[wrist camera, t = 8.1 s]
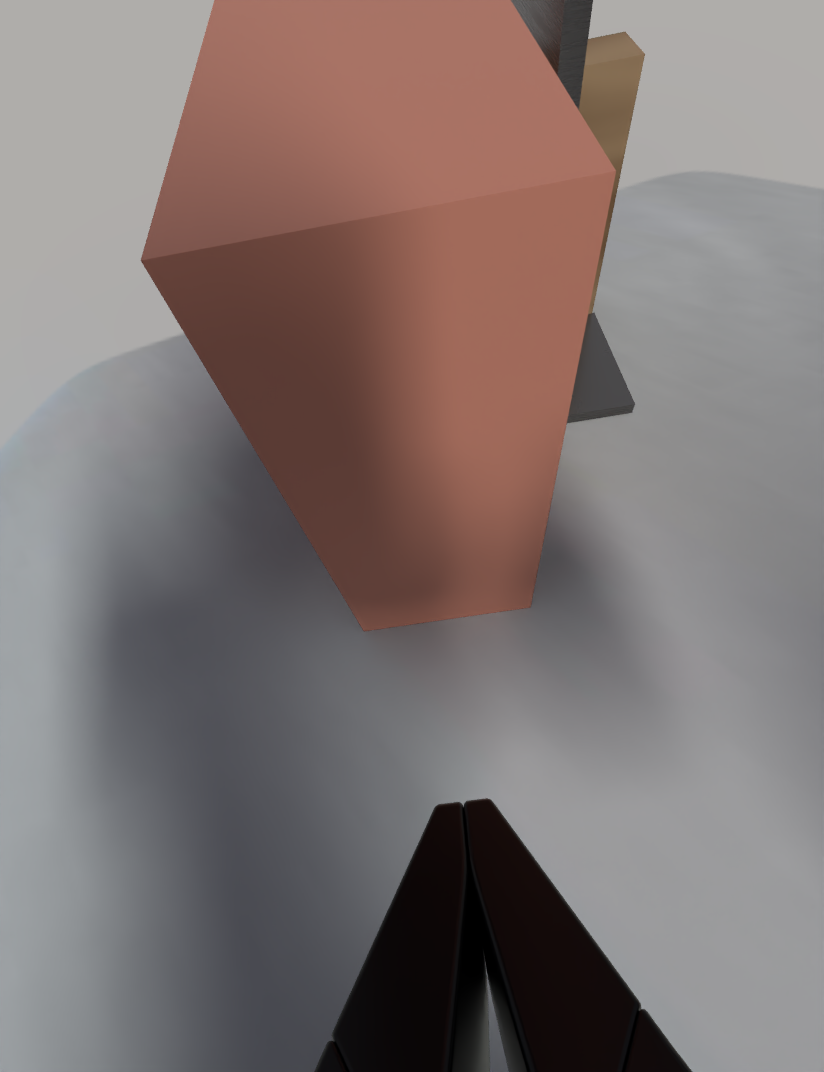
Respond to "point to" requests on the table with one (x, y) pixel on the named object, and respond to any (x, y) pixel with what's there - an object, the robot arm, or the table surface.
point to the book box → (389, 281)
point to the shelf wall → (610, 105)
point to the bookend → (562, 34)
